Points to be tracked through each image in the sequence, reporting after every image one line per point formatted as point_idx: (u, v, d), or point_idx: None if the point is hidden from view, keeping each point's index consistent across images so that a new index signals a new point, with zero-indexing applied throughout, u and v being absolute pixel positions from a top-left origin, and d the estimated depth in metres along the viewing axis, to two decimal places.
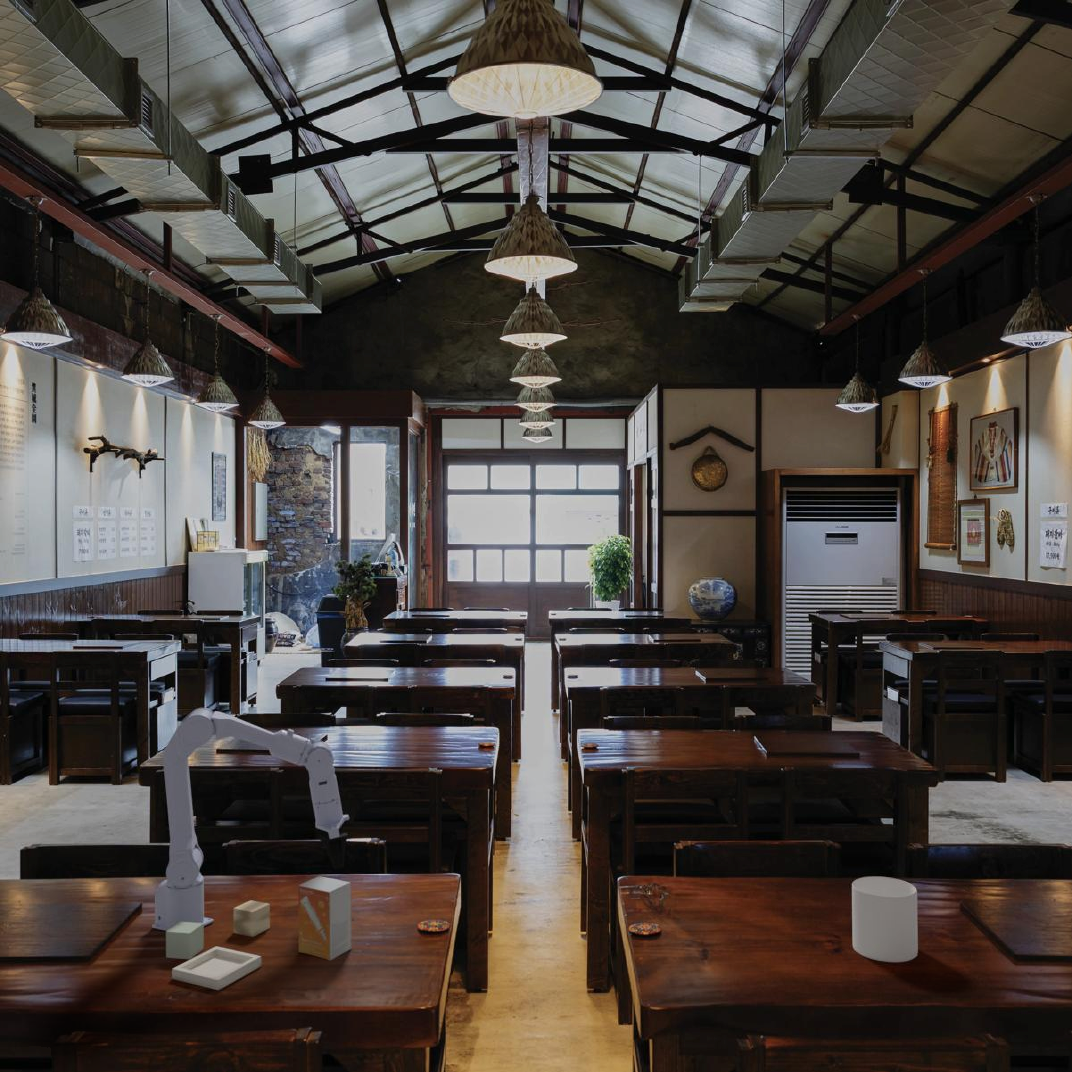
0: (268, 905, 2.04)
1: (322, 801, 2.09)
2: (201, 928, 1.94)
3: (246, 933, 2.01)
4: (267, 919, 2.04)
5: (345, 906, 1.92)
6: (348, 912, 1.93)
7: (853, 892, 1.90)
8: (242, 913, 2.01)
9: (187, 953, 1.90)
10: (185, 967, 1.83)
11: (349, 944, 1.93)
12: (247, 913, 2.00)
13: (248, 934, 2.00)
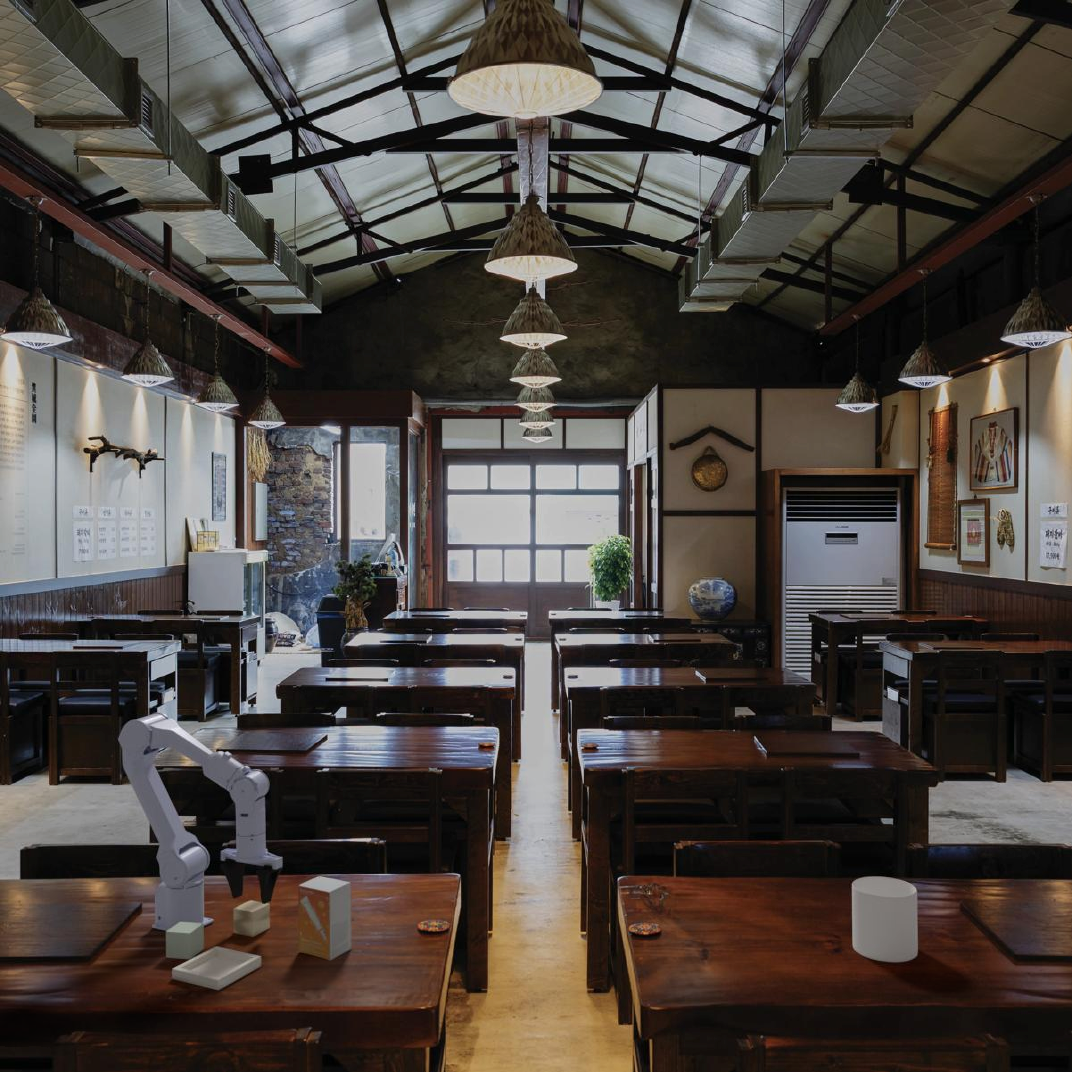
0: (268, 905, 2.04)
1: (241, 833, 2.01)
2: (201, 928, 1.94)
3: (246, 933, 2.01)
4: (267, 919, 2.04)
5: (345, 906, 1.92)
6: (348, 912, 1.93)
7: (853, 892, 1.90)
8: (242, 913, 2.01)
9: (187, 953, 1.90)
10: (185, 967, 1.83)
11: (349, 944, 1.93)
12: (247, 913, 2.00)
13: (248, 934, 2.00)
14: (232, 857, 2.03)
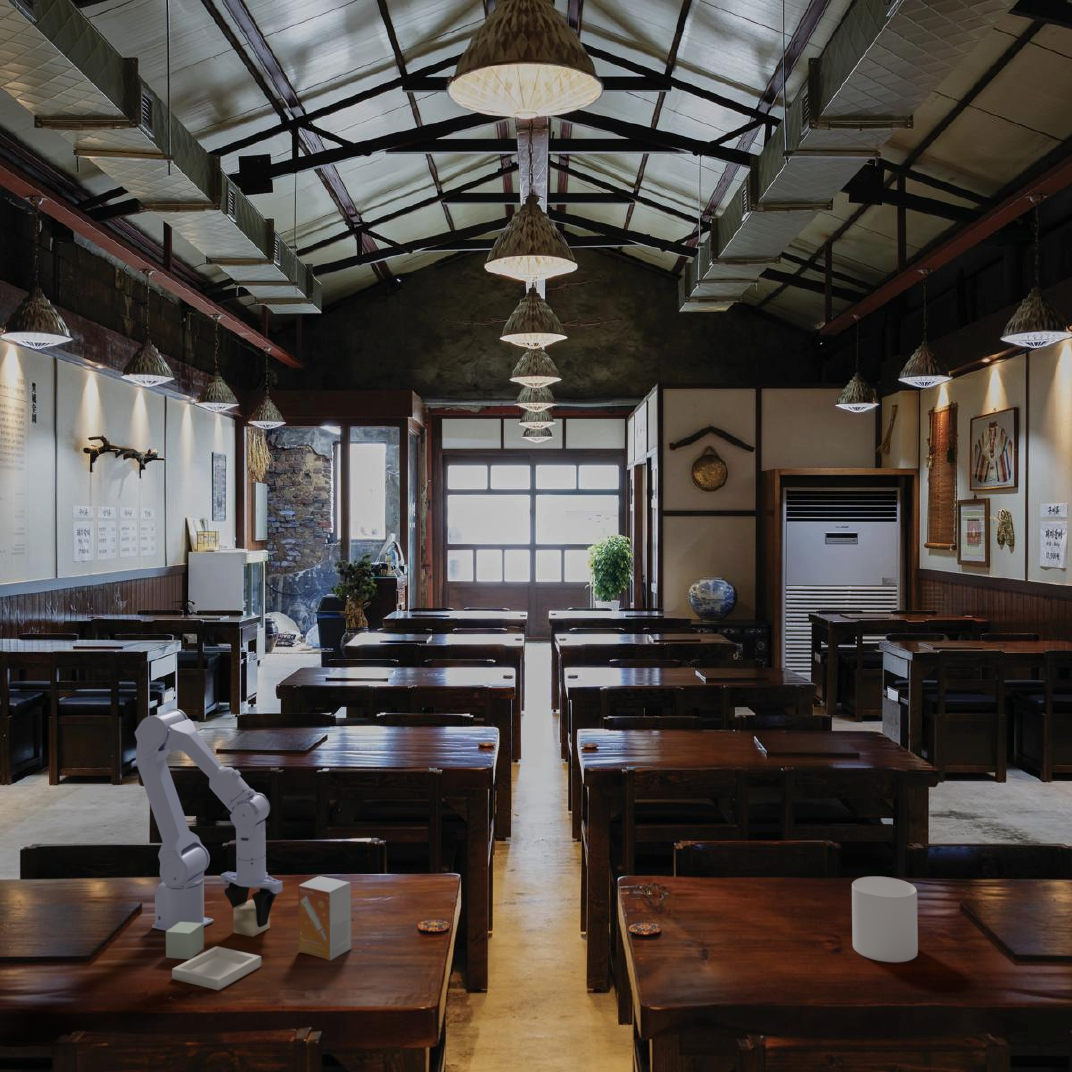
0: None
1: (241, 857, 2.01)
2: (201, 928, 1.94)
3: (246, 932, 2.01)
4: None
5: (345, 906, 1.92)
6: (348, 912, 1.93)
7: (853, 892, 1.90)
8: (242, 912, 2.01)
9: (187, 953, 1.90)
10: (185, 967, 1.83)
11: (349, 944, 1.93)
12: (247, 913, 2.00)
13: (248, 933, 2.00)
14: (232, 881, 2.03)
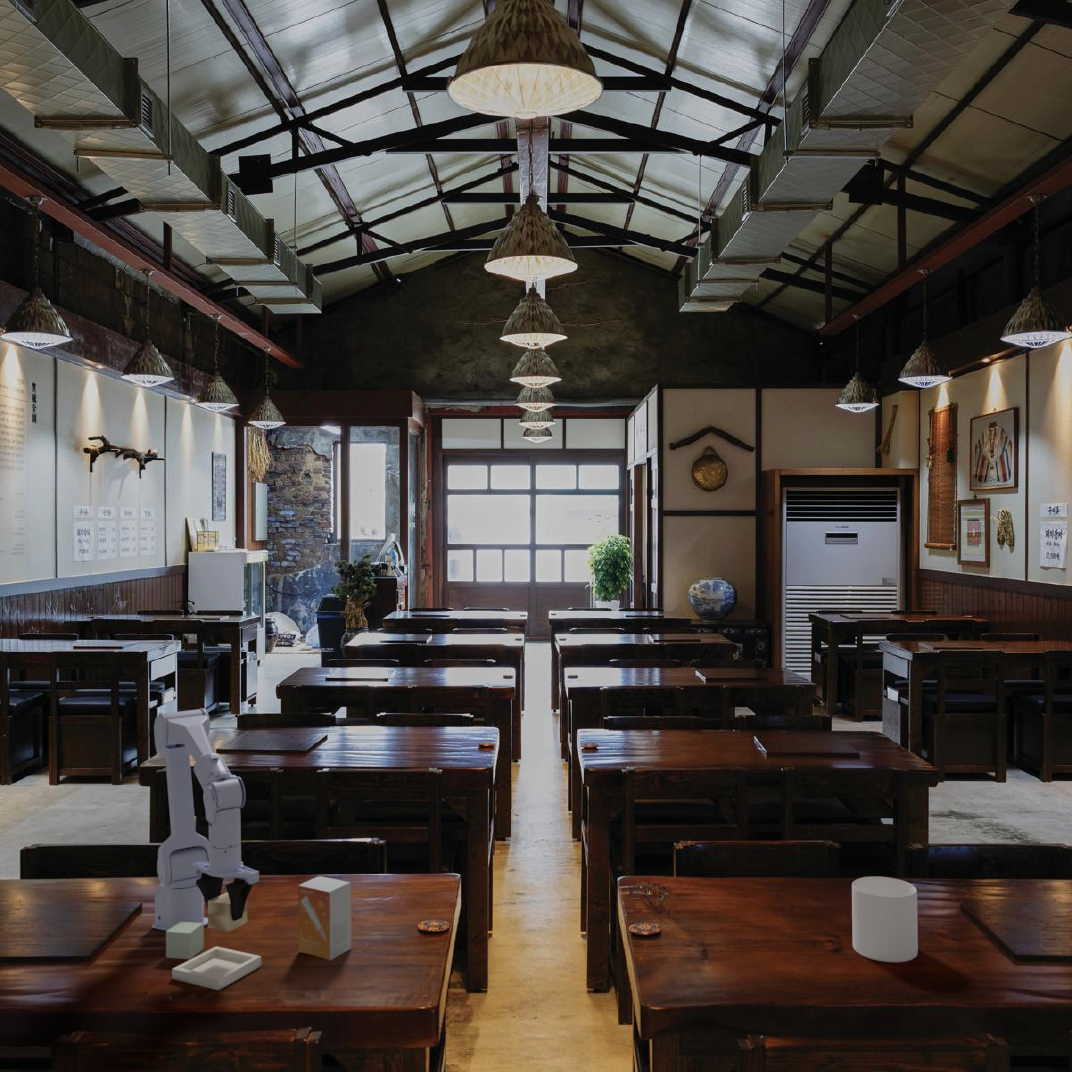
0: None
1: (209, 843, 1.87)
2: (201, 928, 1.94)
3: (221, 927, 1.86)
4: (244, 913, 1.89)
5: (345, 906, 1.92)
6: (348, 912, 1.93)
7: (853, 892, 1.90)
8: (217, 906, 1.86)
9: (187, 953, 1.90)
10: (185, 967, 1.83)
11: (349, 944, 1.93)
12: (222, 906, 1.86)
13: (223, 928, 1.86)
14: (204, 871, 1.87)
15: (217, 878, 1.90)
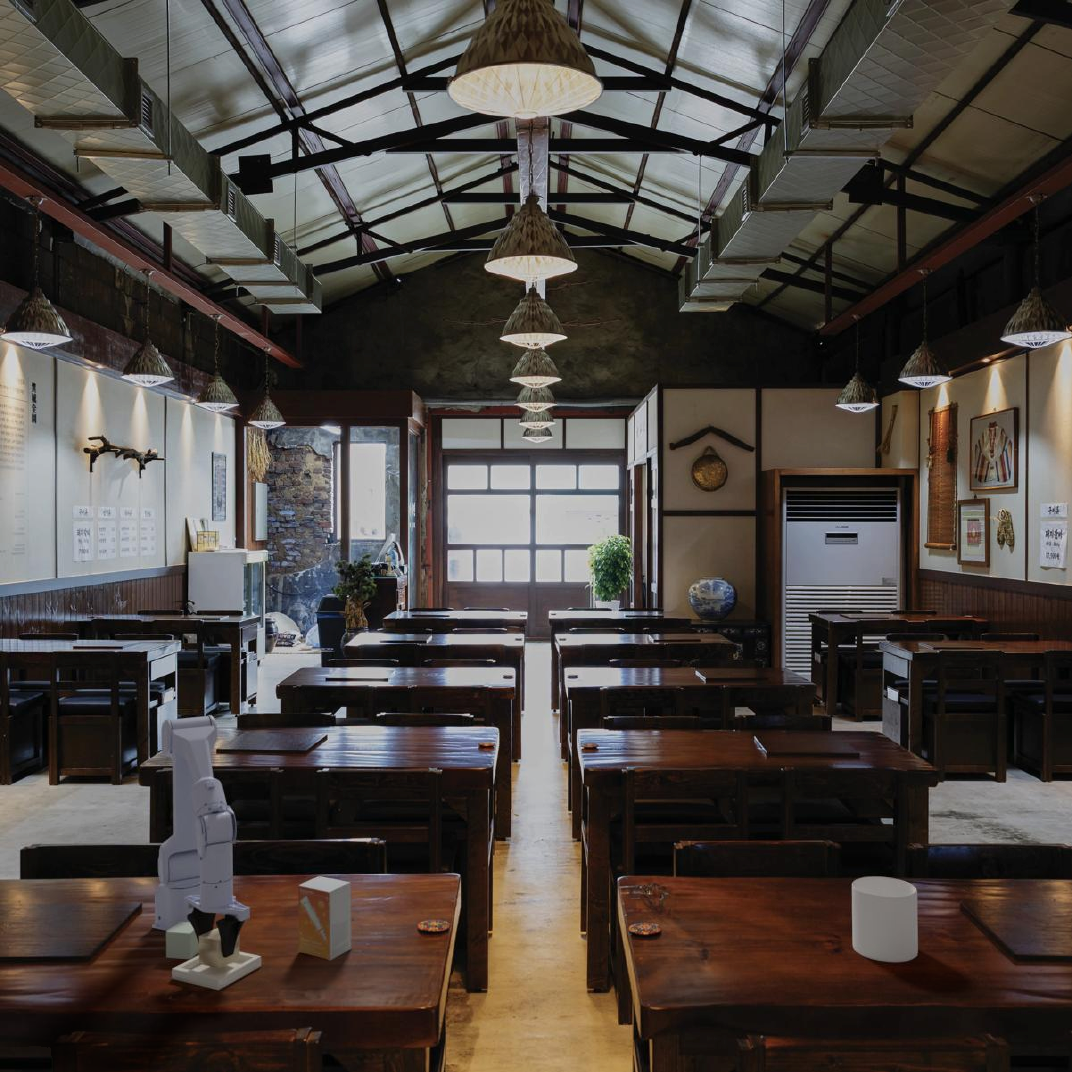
0: None
1: None
2: None
3: (212, 964, 1.81)
4: (236, 949, 1.84)
5: (345, 906, 1.92)
6: (348, 912, 1.93)
7: (853, 892, 1.90)
8: (208, 942, 1.82)
9: (187, 953, 1.90)
10: (185, 967, 1.83)
11: (349, 944, 1.93)
12: (213, 942, 1.81)
13: (214, 965, 1.81)
14: (195, 905, 1.83)
15: (209, 912, 1.86)
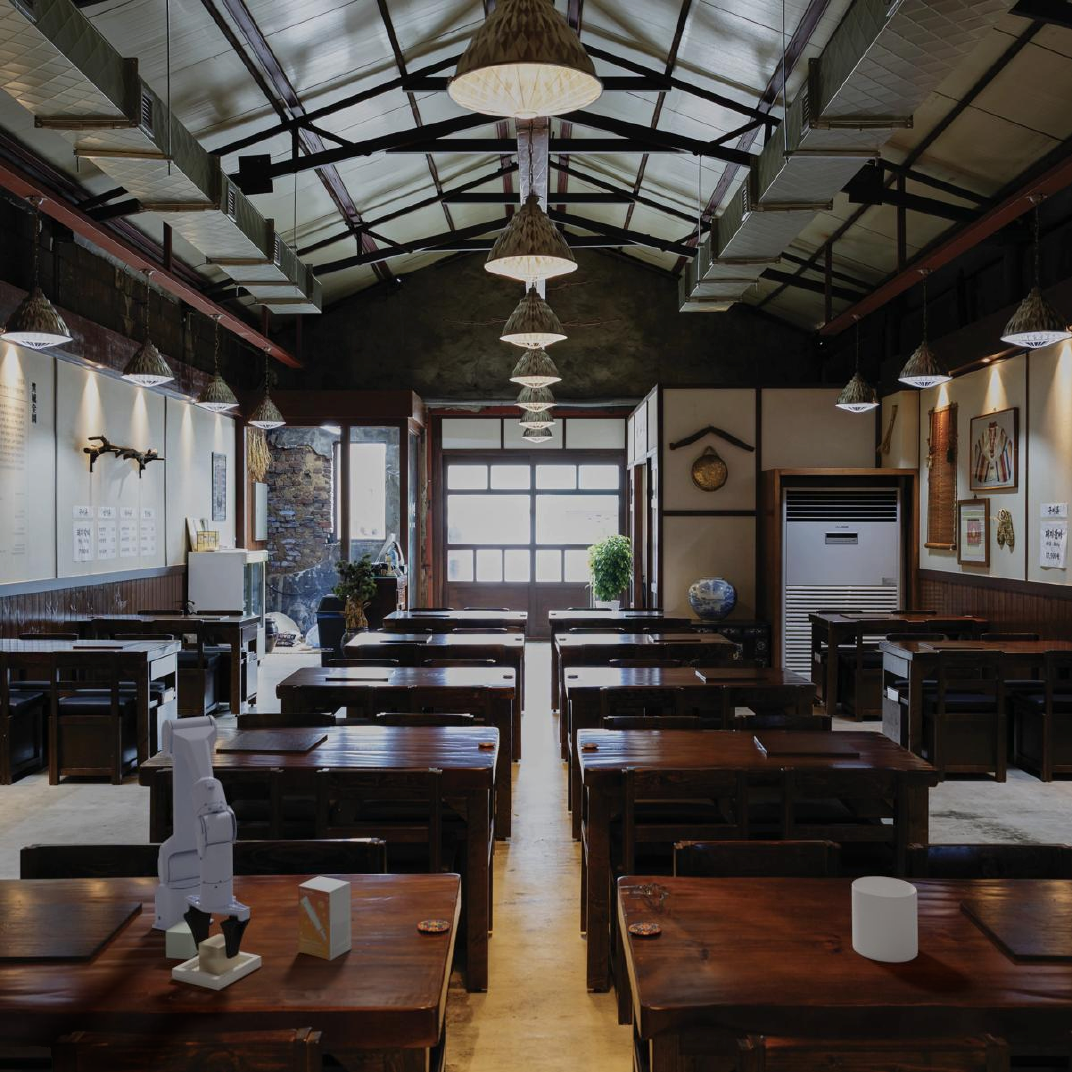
0: None
1: None
2: None
3: (212, 971, 1.81)
4: (236, 956, 1.84)
5: (345, 906, 1.92)
6: (348, 912, 1.93)
7: (853, 892, 1.90)
8: (208, 949, 1.82)
9: (187, 953, 1.90)
10: (185, 967, 1.83)
11: (349, 944, 1.93)
12: (213, 949, 1.81)
13: (214, 972, 1.81)
14: (195, 905, 1.83)
15: (205, 912, 1.86)
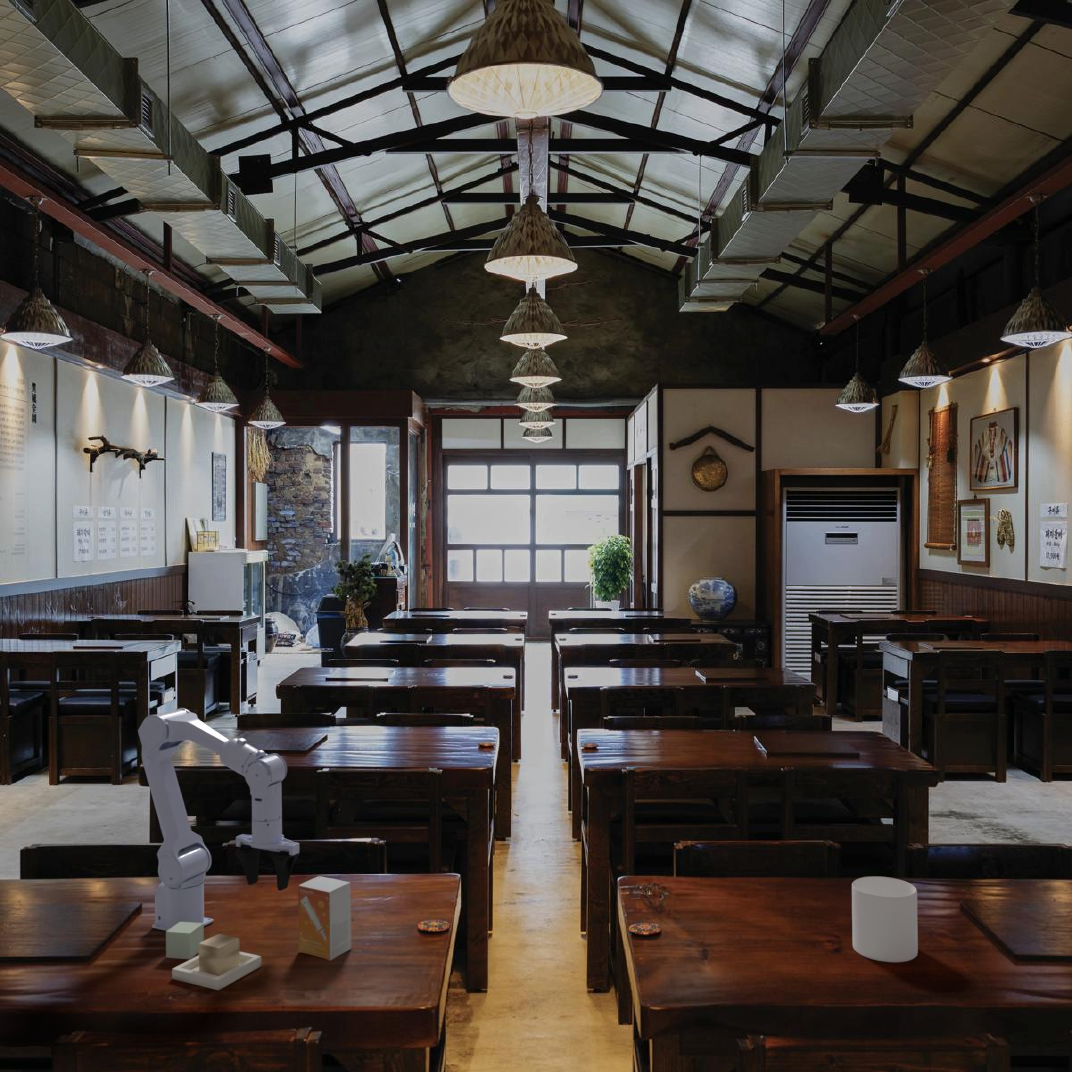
0: (237, 940, 1.85)
1: (255, 818, 1.97)
2: (201, 928, 1.94)
3: (212, 971, 1.81)
4: (236, 956, 1.84)
5: (345, 906, 1.92)
6: (348, 912, 1.93)
7: (853, 892, 1.90)
8: (208, 949, 1.82)
9: (187, 953, 1.90)
10: (185, 967, 1.83)
11: (349, 944, 1.93)
12: (213, 949, 1.81)
13: (214, 972, 1.81)
14: (248, 843, 1.98)
15: (255, 849, 2.01)
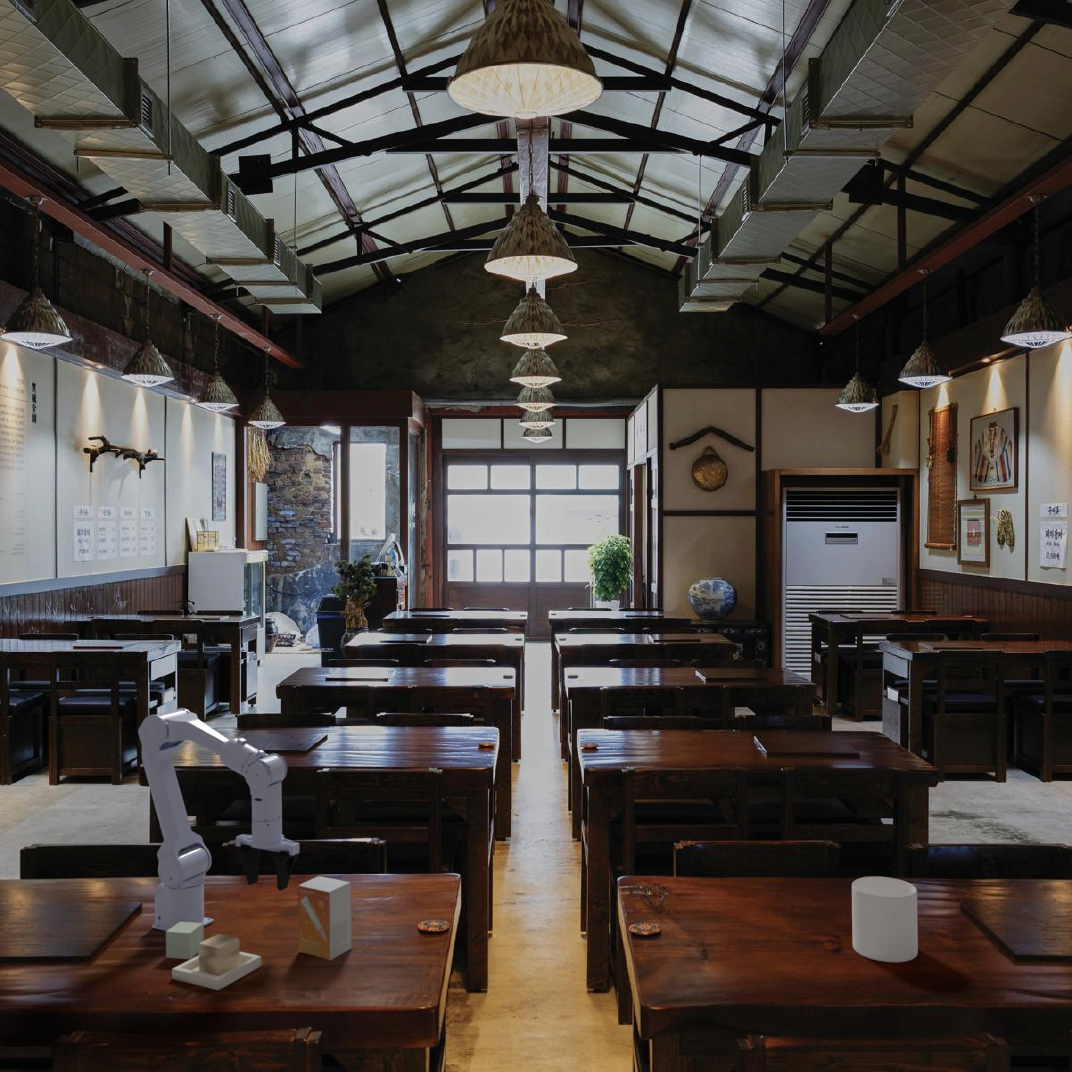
0: (237, 940, 1.85)
1: (255, 818, 1.97)
2: (201, 928, 1.94)
3: (212, 971, 1.81)
4: (236, 956, 1.84)
5: (345, 906, 1.92)
6: (348, 912, 1.93)
7: (853, 892, 1.90)
8: (208, 949, 1.82)
9: (187, 953, 1.90)
10: (185, 967, 1.83)
11: (349, 944, 1.93)
12: (213, 949, 1.81)
13: (214, 972, 1.81)
14: (248, 843, 1.98)
15: (255, 849, 2.01)
